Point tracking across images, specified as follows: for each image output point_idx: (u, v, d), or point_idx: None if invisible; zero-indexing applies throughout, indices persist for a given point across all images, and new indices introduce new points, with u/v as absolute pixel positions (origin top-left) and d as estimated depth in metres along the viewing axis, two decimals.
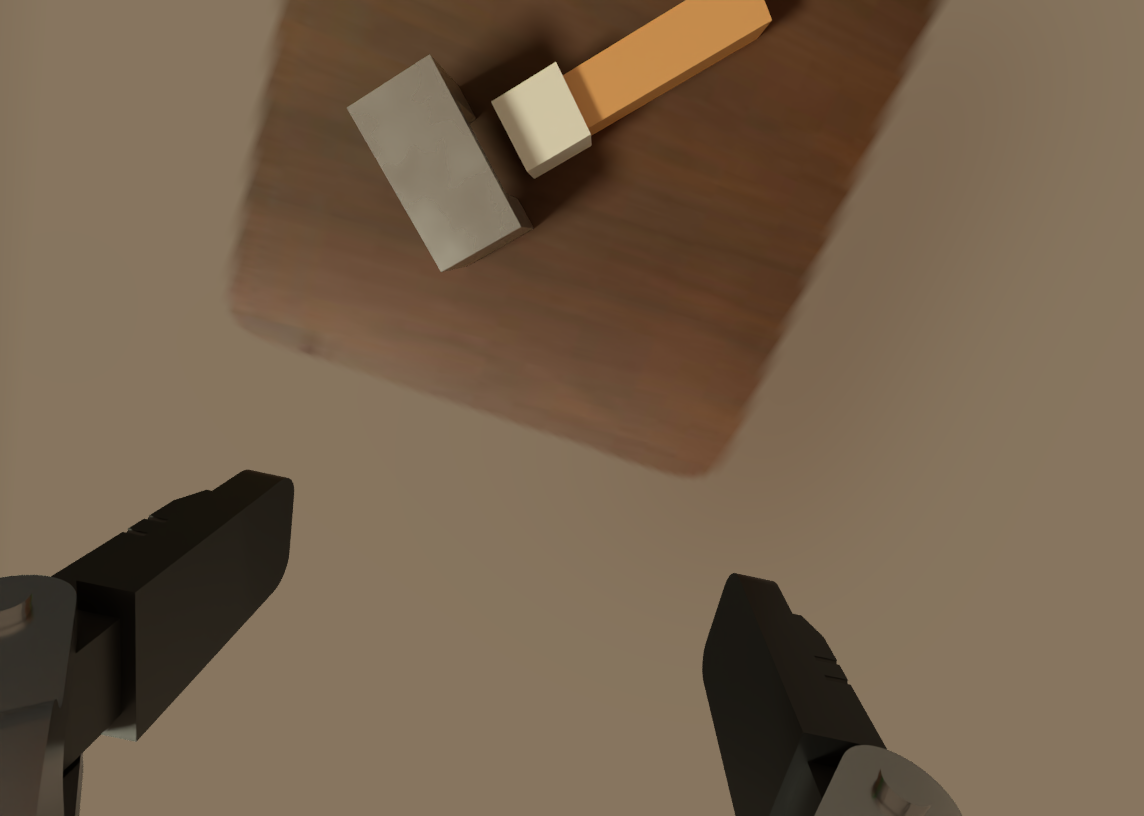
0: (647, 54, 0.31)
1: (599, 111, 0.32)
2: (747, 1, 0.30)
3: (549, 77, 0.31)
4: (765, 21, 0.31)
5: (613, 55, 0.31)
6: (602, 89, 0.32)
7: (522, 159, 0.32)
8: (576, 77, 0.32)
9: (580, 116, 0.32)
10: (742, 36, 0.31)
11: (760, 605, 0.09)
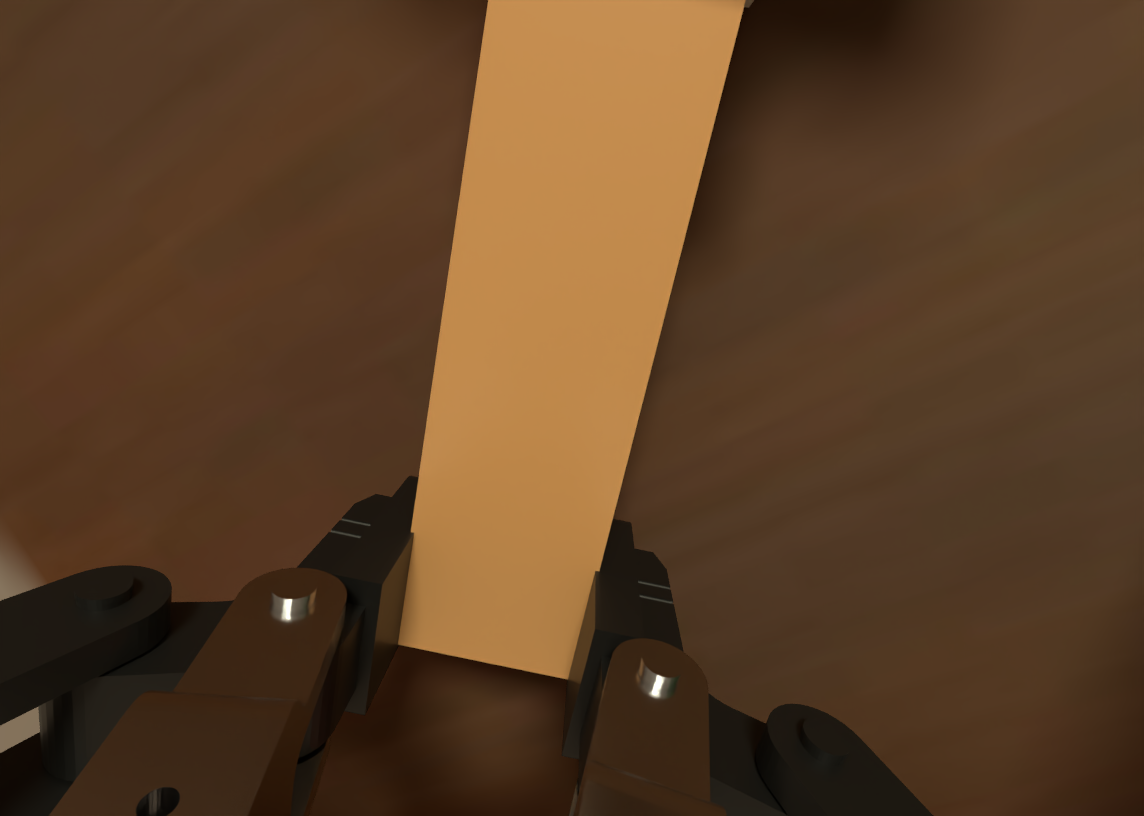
0: (575, 276, 0.08)
1: None
2: (484, 622, 0.09)
3: None
4: (402, 629, 0.10)
5: (665, 163, 0.07)
6: (595, 31, 0.07)
7: None
8: None
9: None
10: None
11: None
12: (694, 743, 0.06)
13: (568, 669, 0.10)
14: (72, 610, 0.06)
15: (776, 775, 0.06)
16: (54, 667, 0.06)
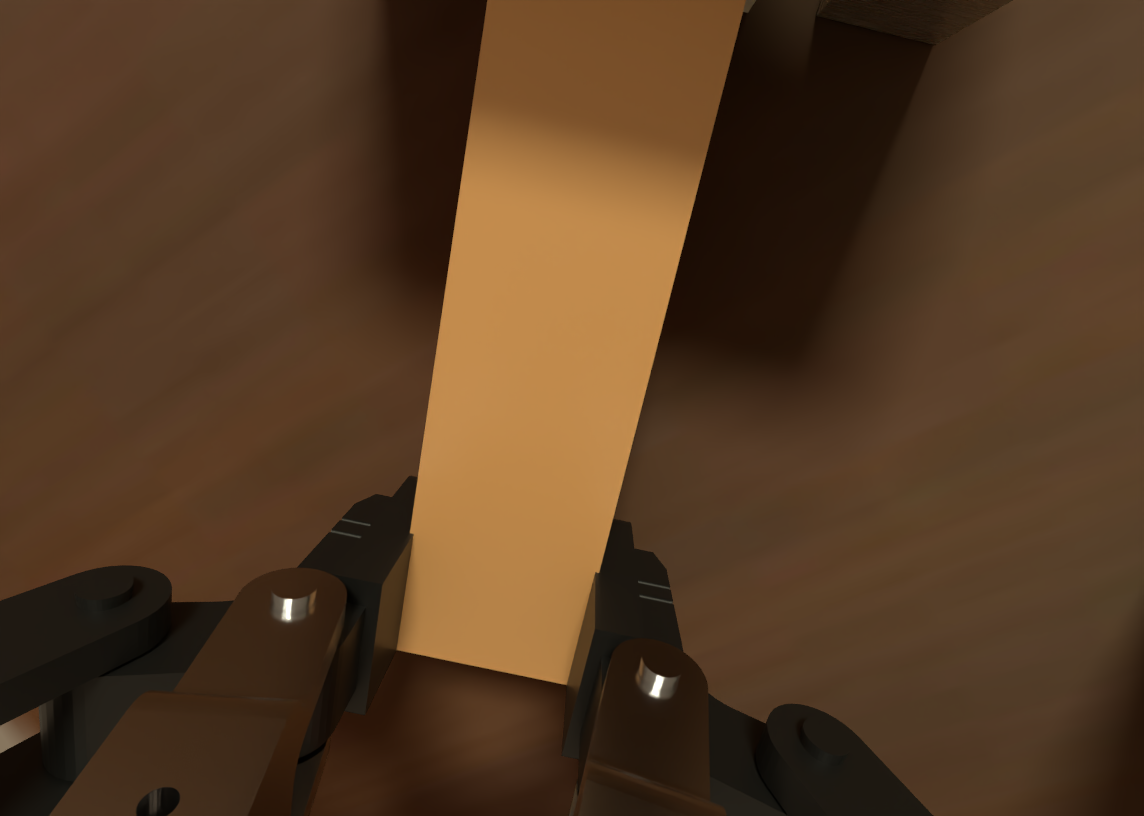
0: (574, 282, 0.08)
1: None
2: (482, 627, 0.09)
3: None
4: (401, 634, 0.10)
5: (664, 169, 0.07)
6: (594, 37, 0.07)
7: None
8: None
9: None
10: (409, 562, 0.09)
11: None
12: (693, 742, 0.06)
13: (567, 674, 0.10)
14: (72, 610, 0.06)
15: (776, 776, 0.06)
16: (54, 667, 0.06)
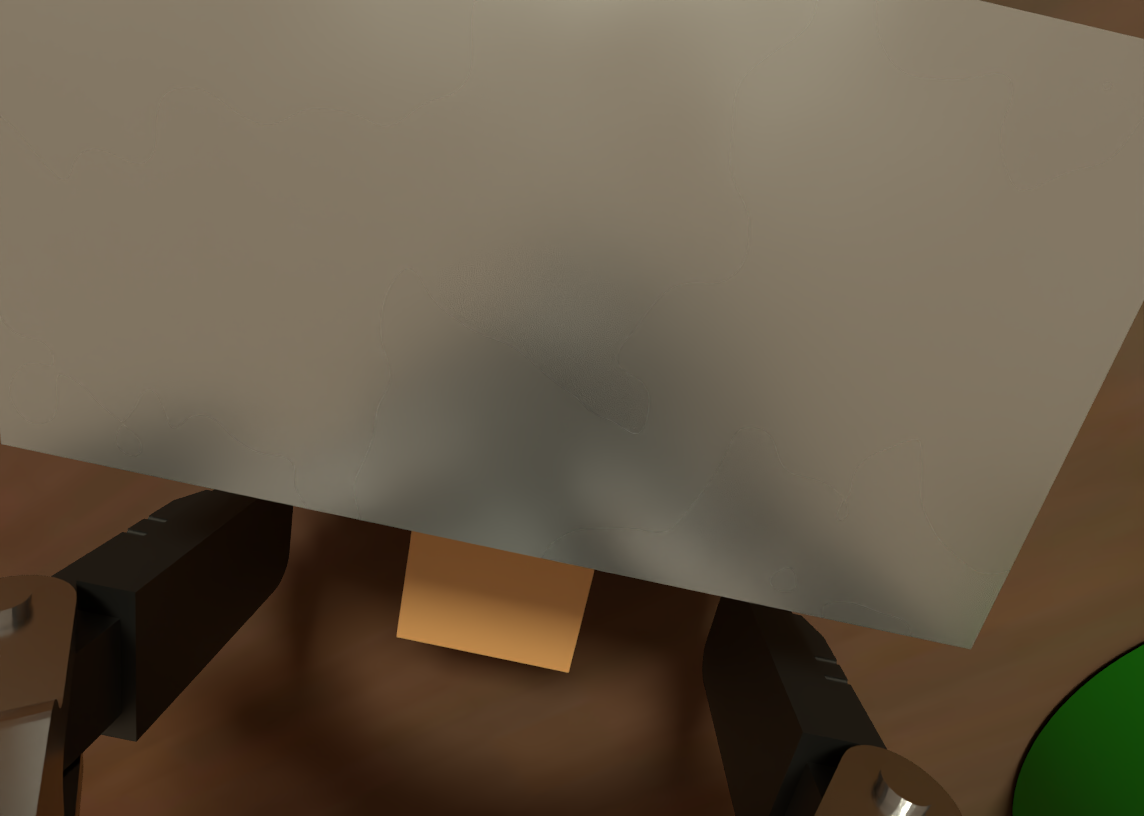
0: None
1: None
2: (483, 615, 0.10)
3: None
4: (404, 622, 0.10)
5: None
6: None
7: None
8: None
9: None
10: (411, 552, 0.10)
11: (760, 605, 0.09)
12: None
13: (565, 662, 0.10)
14: None
15: None
16: None
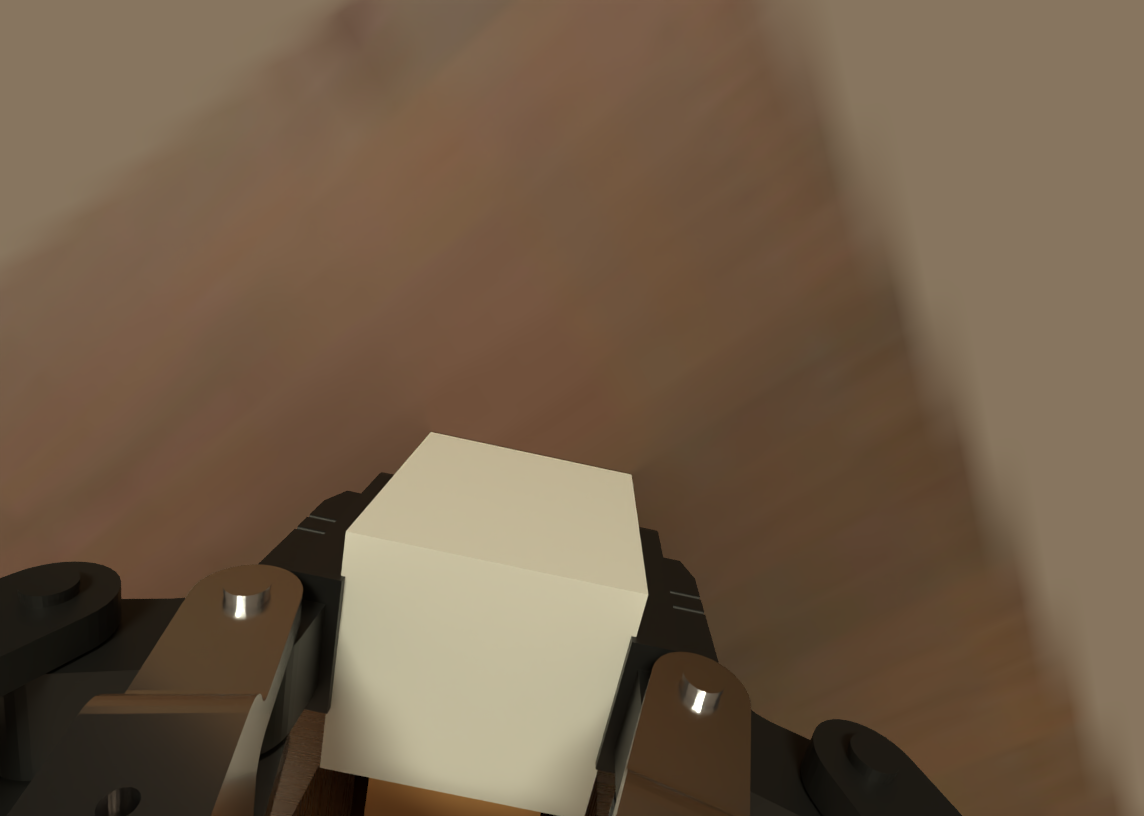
0: None
1: None
2: None
3: (559, 781, 0.09)
4: None
5: None
6: (441, 811, 0.10)
7: (395, 548, 0.08)
8: None
9: (390, 776, 0.09)
10: None
11: None
12: (742, 761, 0.06)
13: None
14: (16, 607, 0.06)
15: (821, 790, 0.06)
16: (1, 665, 0.05)
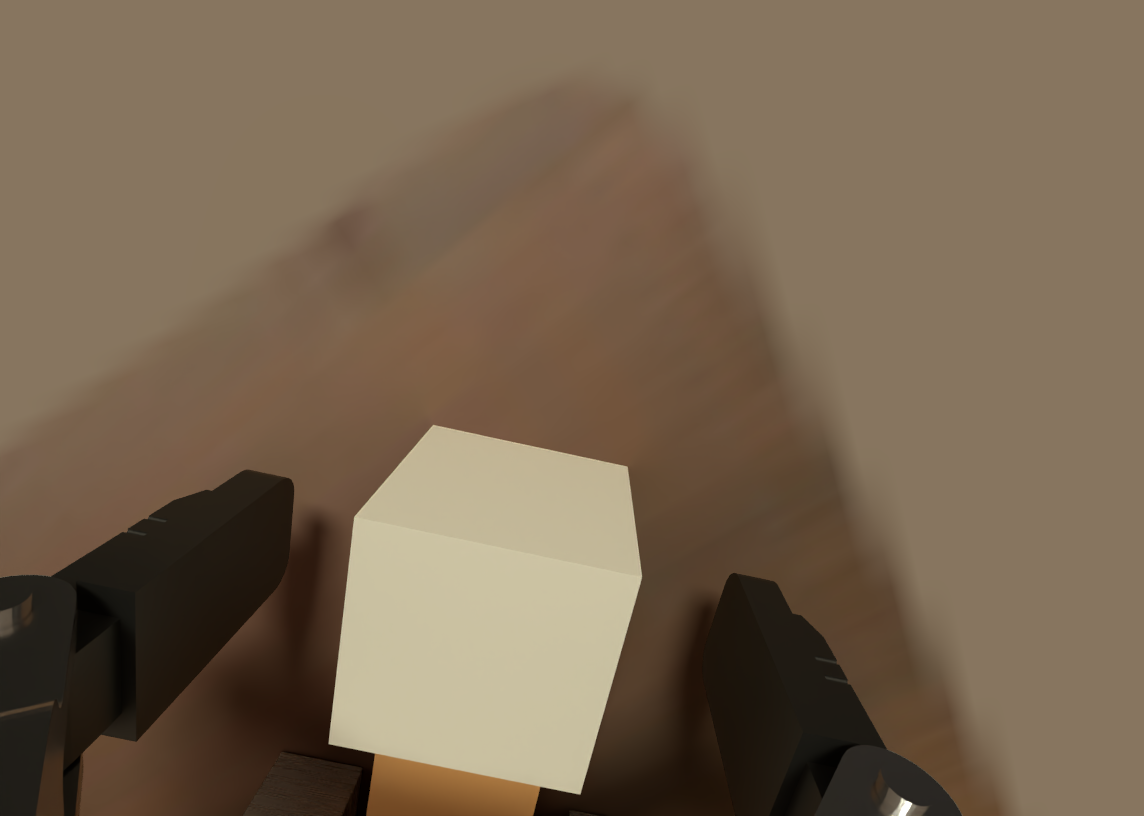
0: None
1: None
2: None
3: (558, 756, 0.09)
4: None
5: None
6: (445, 789, 0.11)
7: (401, 533, 0.08)
8: None
9: (396, 752, 0.09)
10: None
11: (760, 605, 0.09)
12: None
13: None
14: None
15: None
16: None
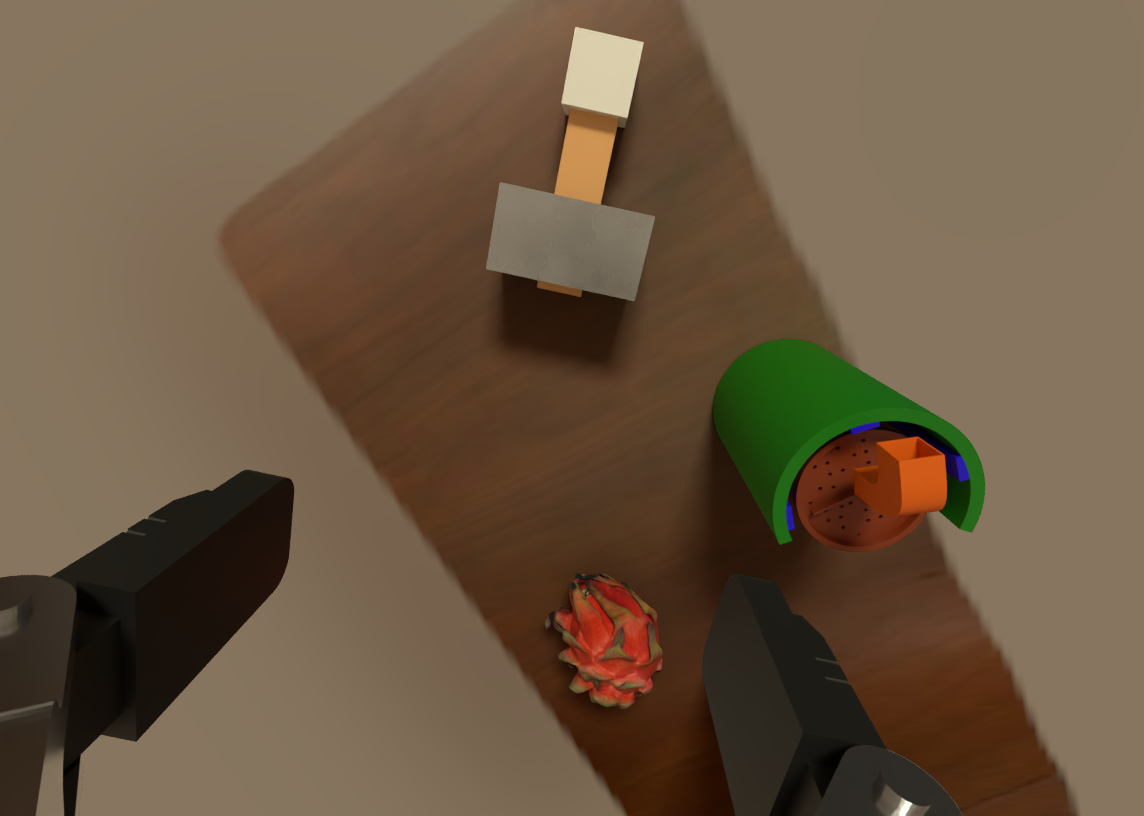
0: (582, 192, 0.37)
1: (574, 127, 0.36)
2: None
3: (621, 104, 0.34)
4: (539, 282, 0.39)
5: (600, 168, 0.36)
6: (586, 142, 0.36)
7: (586, 31, 0.33)
8: (609, 129, 0.36)
9: (579, 105, 0.35)
10: None
11: (760, 605, 0.09)
12: None
13: (580, 294, 0.39)
14: None
15: None
16: None
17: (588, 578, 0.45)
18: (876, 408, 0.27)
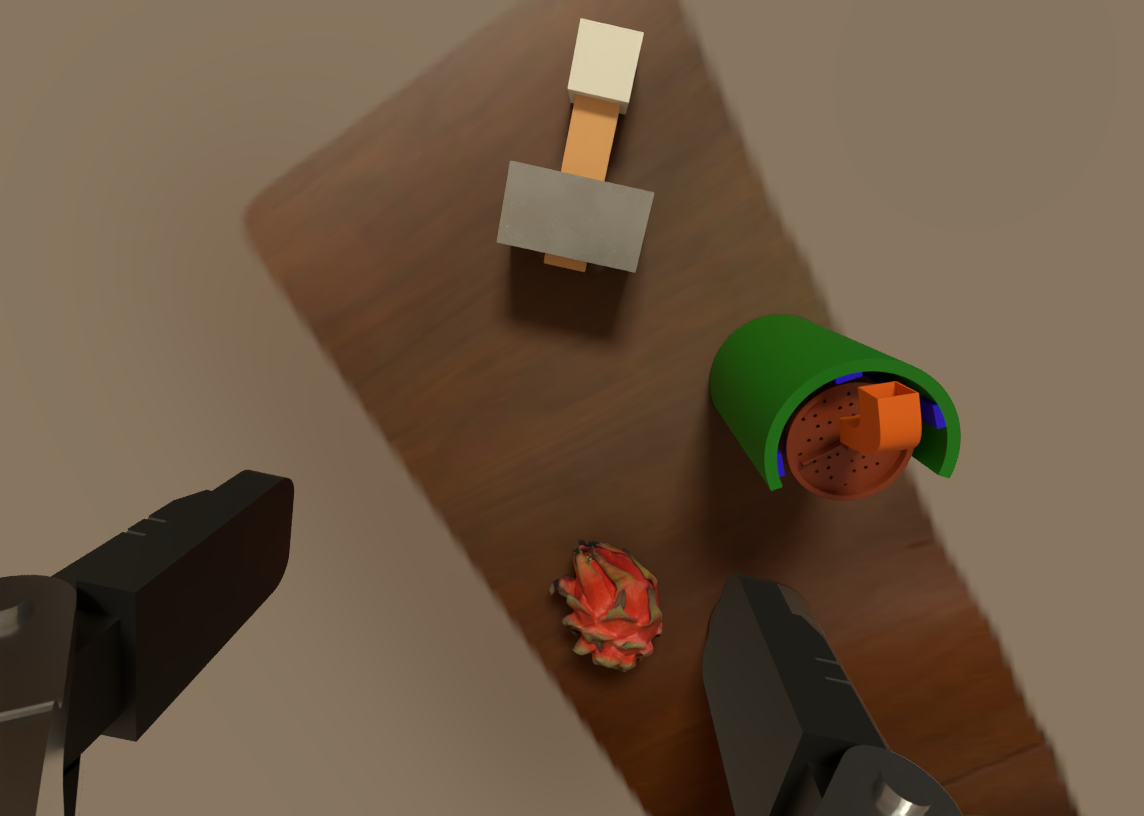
0: (586, 172, 0.40)
1: (579, 112, 0.39)
2: None
3: (623, 89, 0.37)
4: (545, 258, 0.41)
5: (603, 150, 0.39)
6: (590, 125, 0.39)
7: (591, 22, 0.36)
8: (611, 113, 0.38)
9: (584, 91, 0.37)
10: None
11: (760, 605, 0.09)
12: None
13: (584, 269, 0.41)
14: None
15: None
16: None
17: (591, 544, 0.47)
18: (858, 359, 0.30)
